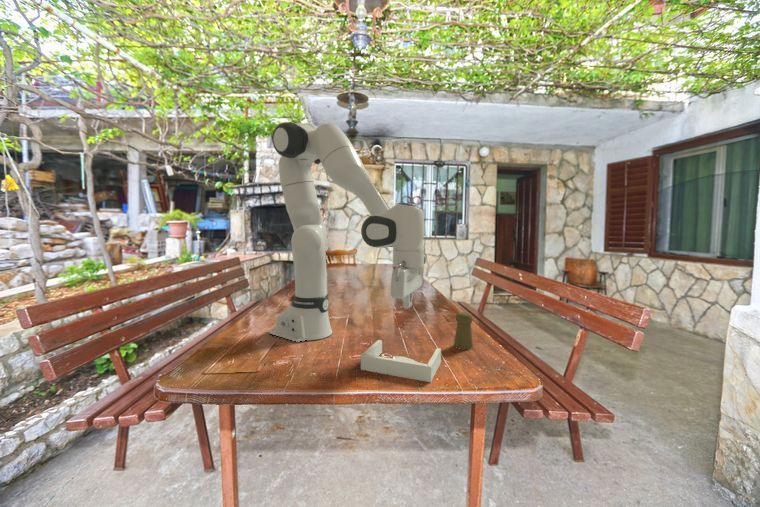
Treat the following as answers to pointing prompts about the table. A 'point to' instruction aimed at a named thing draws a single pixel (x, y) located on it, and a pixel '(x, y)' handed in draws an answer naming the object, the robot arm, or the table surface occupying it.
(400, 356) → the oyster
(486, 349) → the table surface
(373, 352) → the box
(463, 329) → the green tapered cylinder
